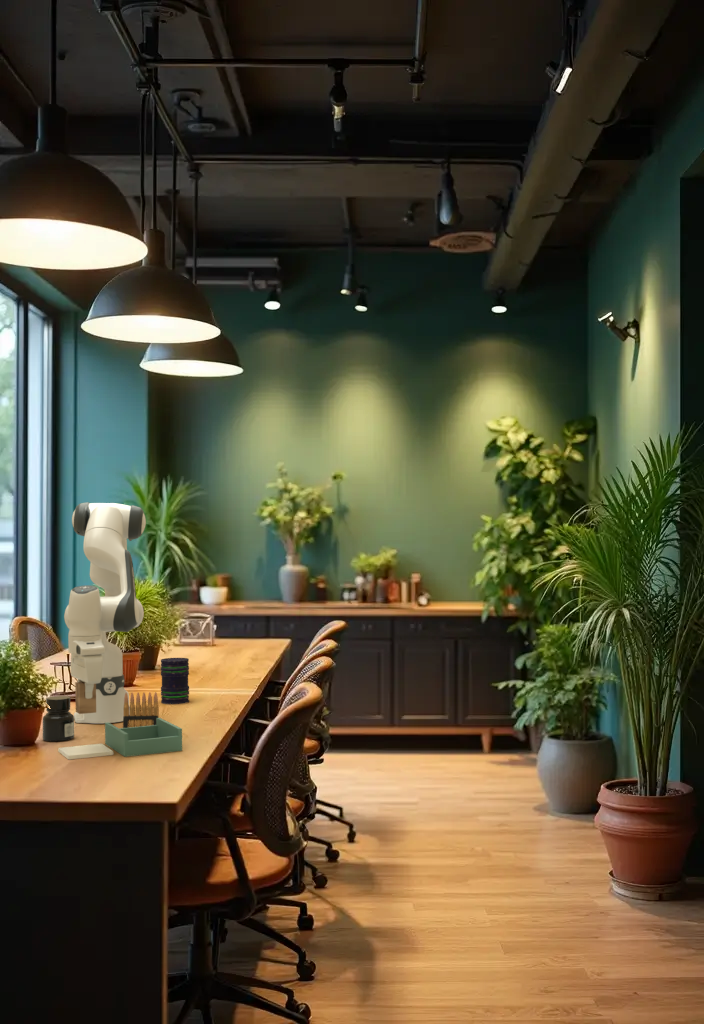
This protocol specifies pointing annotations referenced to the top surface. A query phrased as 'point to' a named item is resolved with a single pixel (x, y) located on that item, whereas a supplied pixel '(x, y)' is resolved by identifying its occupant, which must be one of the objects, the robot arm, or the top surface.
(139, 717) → the ammunition clip
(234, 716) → the top surface
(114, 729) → the box
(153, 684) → the top surface
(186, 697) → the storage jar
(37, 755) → the top surface
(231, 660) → the top surface
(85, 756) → the board
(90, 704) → the walnut block
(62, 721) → the ink bottle
